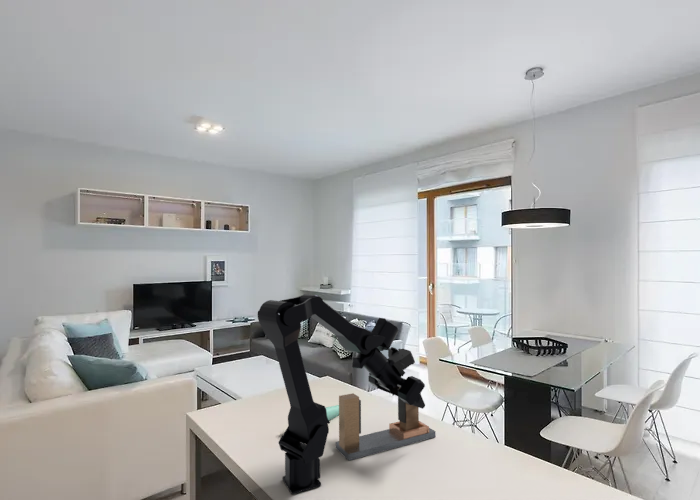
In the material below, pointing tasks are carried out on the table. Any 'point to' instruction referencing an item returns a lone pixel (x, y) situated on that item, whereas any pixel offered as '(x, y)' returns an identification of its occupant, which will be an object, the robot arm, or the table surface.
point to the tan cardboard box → (407, 415)
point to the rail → (374, 442)
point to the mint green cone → (332, 412)
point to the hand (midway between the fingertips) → (413, 401)
